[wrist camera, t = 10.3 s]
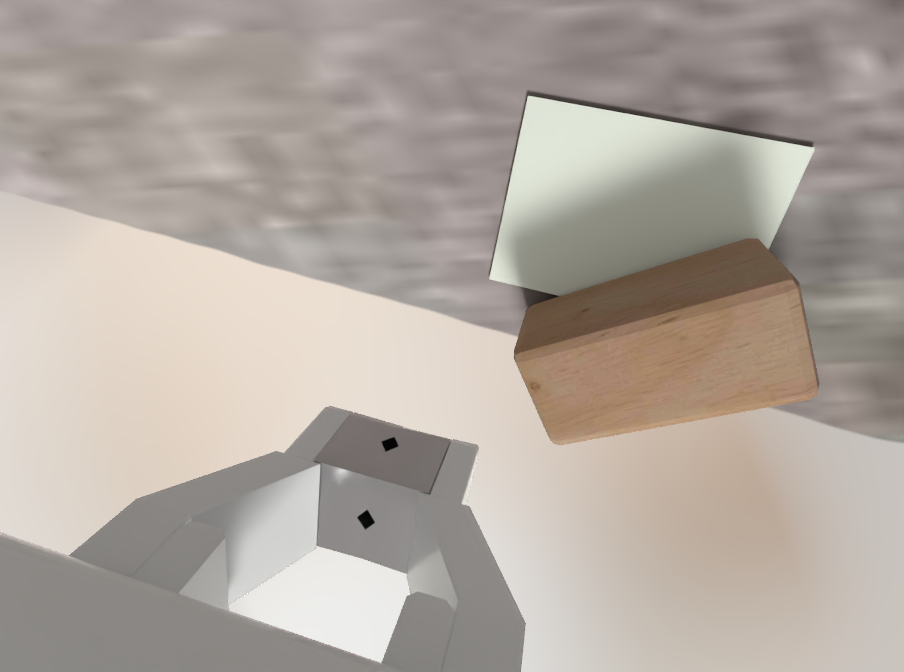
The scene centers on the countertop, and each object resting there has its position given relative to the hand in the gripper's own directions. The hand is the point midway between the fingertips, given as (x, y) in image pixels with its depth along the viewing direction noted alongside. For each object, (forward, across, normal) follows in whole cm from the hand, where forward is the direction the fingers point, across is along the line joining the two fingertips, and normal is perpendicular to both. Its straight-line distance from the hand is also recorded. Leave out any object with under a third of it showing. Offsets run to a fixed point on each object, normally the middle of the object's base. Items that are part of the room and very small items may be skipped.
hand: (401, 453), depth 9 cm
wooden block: (+32, -20, +4) cm, 38 cm away
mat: (+38, -8, 0) cm, 39 cm away
